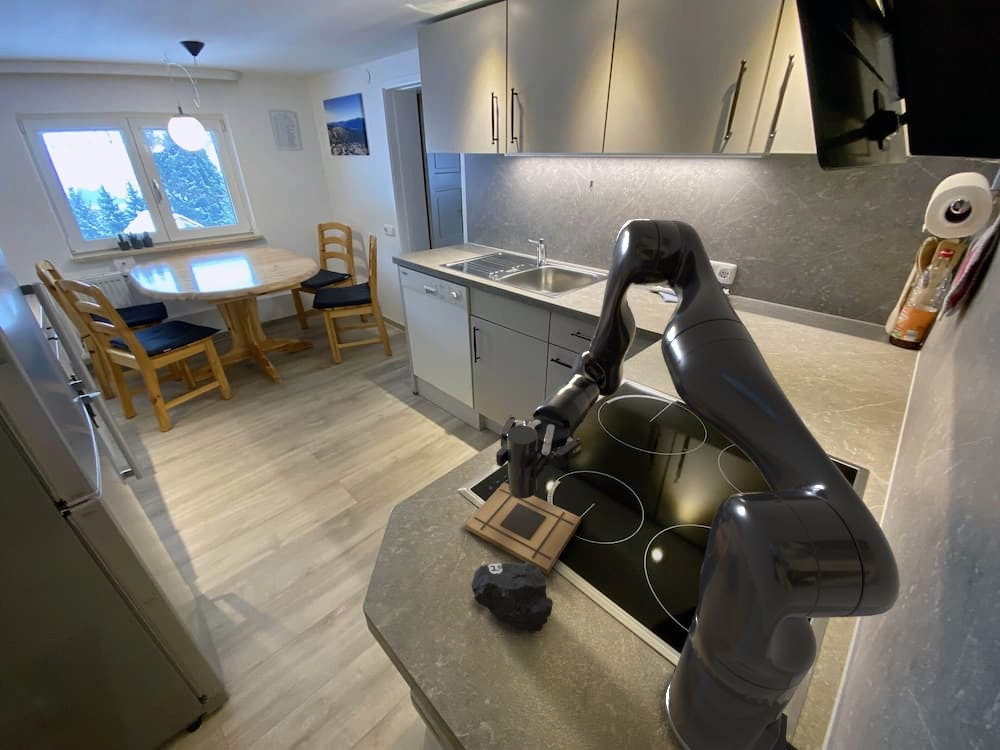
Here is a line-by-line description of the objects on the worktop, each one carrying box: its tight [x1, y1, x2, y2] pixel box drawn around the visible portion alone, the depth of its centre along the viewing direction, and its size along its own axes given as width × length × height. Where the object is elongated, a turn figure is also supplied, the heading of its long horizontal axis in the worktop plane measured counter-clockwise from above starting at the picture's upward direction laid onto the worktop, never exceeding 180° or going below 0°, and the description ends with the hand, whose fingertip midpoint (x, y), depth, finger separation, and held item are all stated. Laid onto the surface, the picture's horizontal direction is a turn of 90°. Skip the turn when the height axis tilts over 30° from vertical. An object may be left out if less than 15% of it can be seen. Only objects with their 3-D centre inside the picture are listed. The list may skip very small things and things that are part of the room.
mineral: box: [471, 562, 554, 633], centre depth 58 cm, size 10×9×6 cm
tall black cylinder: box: [507, 425, 539, 499], centre depth 65 cm, size 5×5×11 cm
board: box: [464, 482, 582, 575], centre depth 71 cm, size 16×12×1 cm
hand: (513, 467), depth 62 cm, fingers closed on tall black cylinder, 4 cm apart
